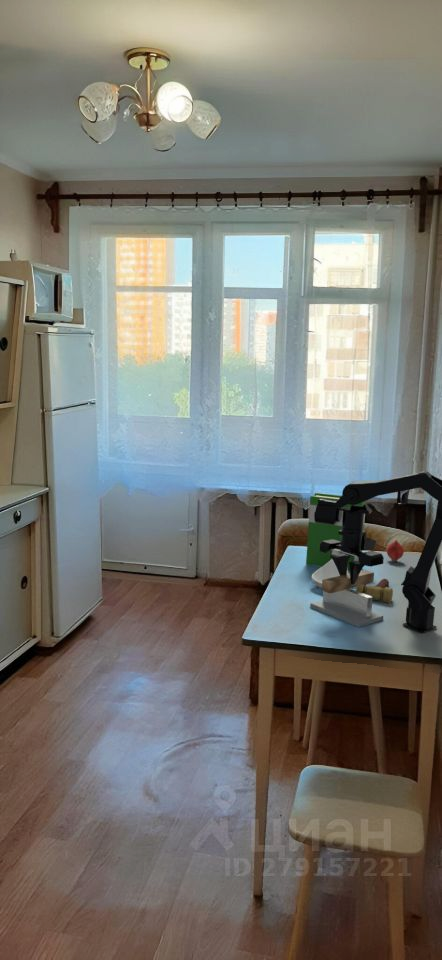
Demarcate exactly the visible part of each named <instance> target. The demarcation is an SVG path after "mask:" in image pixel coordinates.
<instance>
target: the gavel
mask: <svg viewBox="0 0 442 960" xmlns="http://www.w3.org/2000/svg"><path fill="white" fill-rule="evenodd" d="M389 585H390V582H389V580H388V579H387V578H383V579H381V580H380V581H379V582H378V583H377V584H376V585H375V586H374V585H369V584H366V585H362V586H358V587H356V590H355V591H358V592H361V593H363V594H366V595H369V596H372V597H373V600H372V601H378V602H380V601H381V602H383V603H385V604H391V603H392V600H393V595H394V590H393V588H392V587H388V586H389Z"/></svg>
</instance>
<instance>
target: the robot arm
mask: <svg viewBox="0 0 442 960" xmlns="http://www.w3.org/2000/svg"><path fill="white" fill-rule="evenodd" d="M415 489H422V490H423V491H425V492H426V493H427V494H428V495H429V496H431V497H432V498H433V499H435V500H436V501H437V505H436V512H435V519H434V521H433V523H432V527H431V528H430V531H429V534H428V537H427V538H426V541H425V543H424V547H423V549H422V551H421V554H420V557H419V559H418V561H417V563H416V566H415V567H413V566H411V565H410V566H409V568H408V569H407V570H406V573H405V576H404V580H403V581H402V582H401V584H400V586H402V589H401V590H402V591H401V592H402V594H403V596H404V597H405V599H406V600H407V602H408V603H407V604H408V605H407V607H406V611H405V612H406V613H405V622H404V623H402V626H403V627H405V628H408V629H412V631H413V630H414V631H416V632H418V633H427V632H430V631H432V630H436V629H437V625H434V621H435V610H436V607H435V606H433V605H432V604H433V602H434V600H435V599H436V594H435V592H434V591H432V589H431V587H430V586H429V585H430V580H431V573H432V568H433V565H434V562H435V561H436V558H437V556H438V553H439V550H440V548H441V545H442V479H441V478H439V477H437V476H435V475H433V474H431V473H430V472H429V471H427V470H422V471H420V472H417V473H412V474H407V475H402V476H396V477H392V478H388V479H381V480H356V481H352V482H350V483H348V484H347V485H346V486H345V485H344V488H343V489H342V493H341V494H342V496H341V497H340V498H339V499H338V500H337V501H330V500H326V499H319V500H318V504H317V507H316V511H315V513H314V520H315V522H316V523H322V524H329V525H337V523H338V522H341V519H342V511H343V519H342V530H339V531H338V534H340V535H341V542H340V541H337V540H334V539H331V540H326V541H322V542H321V543H320V546H319V551H321V552H324V553H328V552H329V551H330V550H332V555H330V557H331V558H332V559H333V561H334V563H335V565H336V567H337V569H338V572H339V574H340V576H341V575H345V574H347V565H348V560H349V558H350V557H351V556H353V557H355V559H354V561H350V562H349V568H350V571H349V574H350V580H351V584H355V582H356V580H357V578H358V576H359V574H360V572H361V571H363V570H362V569H363V568H364V567H365V566H366V567H374V566H375V567H376V566H379V565H383V564H384V555H383V554H382V553H381V552H377V551H375V548H376V545H377V540H376V539H373V538H370V537H368V536H367V532H366V531H365V530H364V531H363V523H364V524H365V521H364V514H365V515H370V514H371V513H372V512H373V510H372V509H371V507H369V505H368V504H367V503H366V504H364V505H363V506H356V504H359V503H361V502H364V501H366V502H367V501H369V500H371V499H373V498H377V497H378V496H379V497H380V496H383V495H389V494H394V493H399V492H405V491H411V490H415ZM348 504H350V505H352V506H351V508H348V507H344V506H346V505H348ZM361 550H362V552H361ZM367 550H369V551H367ZM364 551H365V552H364ZM354 553H355V554H354Z"/></svg>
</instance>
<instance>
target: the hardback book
mask: <svg viewBox="0 0 442 960" xmlns="http://www.w3.org/2000/svg"><path fill="white" fill-rule="evenodd" d="M341 496H342V495H340V494H331V493H321V492H315V493H314V495H310V499H309V511H308V512H309V514H308V527H307V529H308V530H307V541H306V542H307V543H306V556H305V557H306V559H305V564H306V565H307V564H308V565H309V566H315V567H320V568H321V567H322V566H324V565H325V564H326V563H328V562H329V561H330V560H331V559H332V558H331V557H330V555H332V550H330V551H329V552H328V553H324V552H321V551H319V546H320V543H321V542H322V541H326V540H331V539H334V540H337V541H340V542H341V535H340V534H338V531H339V530H342V519H343V511H342V519H341V522H338V523H337V525H329V524H322V523H316V522H315V520H314V513H315V511H316V507H317V504H318V500H319V499H326V500H330V501H337V500H338V499H339V498H340V497H341ZM364 504H367V500H366V501H364V502H361V503H359V504H356V506H363V505H364ZM351 506H352V505H350V504H348V505H346V506H344V507H348V508H351ZM365 517H366V514H364V523H363V531H365V522H366V521H365V519H366V518H365ZM361 552H363V550H361ZM354 554H355V553H354ZM354 559H355V557H353V556H351V557H350V558H349V560H348V565H347V567H348V572H350V568H349V562H350V561H354Z"/></svg>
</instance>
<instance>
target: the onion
mask: <svg viewBox="0 0 442 960" xmlns="http://www.w3.org/2000/svg"><path fill="white" fill-rule="evenodd" d="M386 554H387V557H388V558H389V559H391V561H392V562H394V561H395V562H397V561H398V560H399V559H402V557H403V555H404V547H403V546H402V544H401V543H399V540H398V539H395V540H394V541H393V542H391V543H390V544H389V545H388V546H387V548H386Z"/></svg>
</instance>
